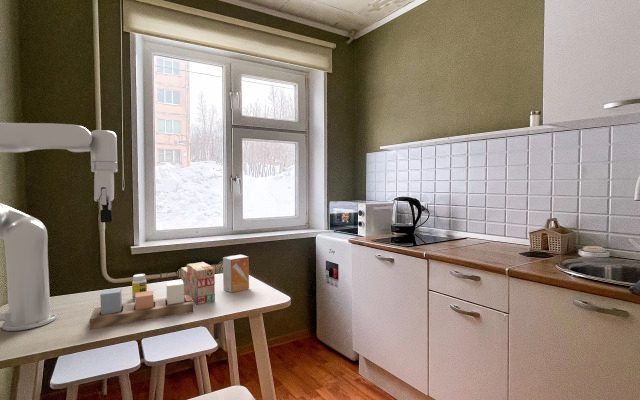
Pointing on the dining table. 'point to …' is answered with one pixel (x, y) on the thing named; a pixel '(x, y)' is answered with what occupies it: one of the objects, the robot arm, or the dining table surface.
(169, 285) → the button cream
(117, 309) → the button slate
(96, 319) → the button board
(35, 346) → the dining table surface
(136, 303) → the peach block
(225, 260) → the small box
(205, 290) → the stack of blocks
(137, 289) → the supplement bottle
